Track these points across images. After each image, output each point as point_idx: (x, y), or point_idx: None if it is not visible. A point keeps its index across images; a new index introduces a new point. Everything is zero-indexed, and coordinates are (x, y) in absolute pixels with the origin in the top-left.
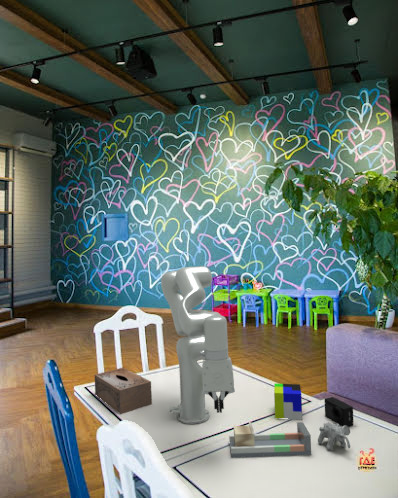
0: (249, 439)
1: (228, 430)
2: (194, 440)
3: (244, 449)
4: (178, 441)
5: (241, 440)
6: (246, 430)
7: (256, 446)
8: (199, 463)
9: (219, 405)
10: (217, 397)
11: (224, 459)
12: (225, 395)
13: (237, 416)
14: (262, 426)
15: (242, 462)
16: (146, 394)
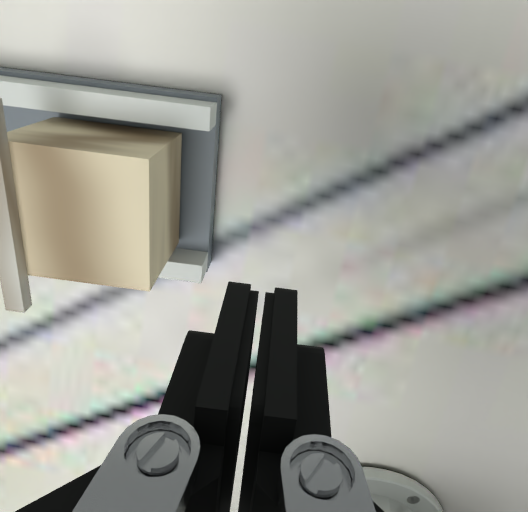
0: (52, 133)
1: None
2: (408, 326)
3: (118, 95)
4: (504, 334)
5: (117, 140)
6: (50, 203)
7: (25, 100)
8: (449, 63)
9: (247, 349)
10: (259, 498)
11: (271, 83)
12: (68, 504)
13: None
14: (14, 378)
15: (157, 21)
16: None
